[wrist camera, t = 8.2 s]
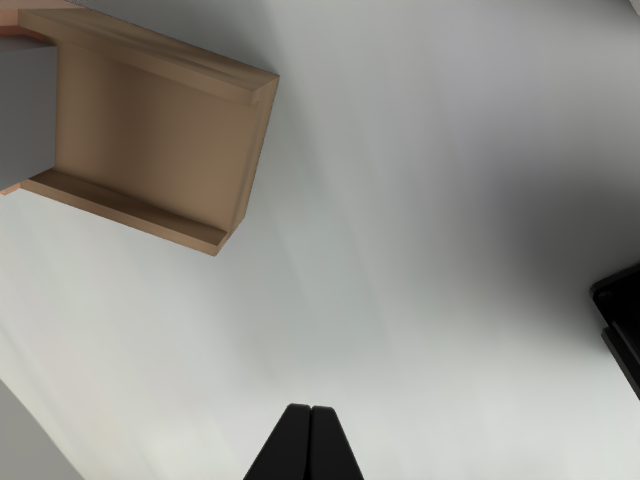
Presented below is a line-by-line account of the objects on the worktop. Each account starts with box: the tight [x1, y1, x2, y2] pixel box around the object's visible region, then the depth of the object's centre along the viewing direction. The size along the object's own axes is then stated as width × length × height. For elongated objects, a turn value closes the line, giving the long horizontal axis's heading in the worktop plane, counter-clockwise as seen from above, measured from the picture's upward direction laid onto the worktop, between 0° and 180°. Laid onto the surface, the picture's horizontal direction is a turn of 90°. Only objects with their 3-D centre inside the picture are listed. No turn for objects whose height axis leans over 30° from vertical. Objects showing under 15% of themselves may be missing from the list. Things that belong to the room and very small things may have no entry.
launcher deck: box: [18, 8, 280, 257], centre depth 18 cm, size 8×6×4 cm
